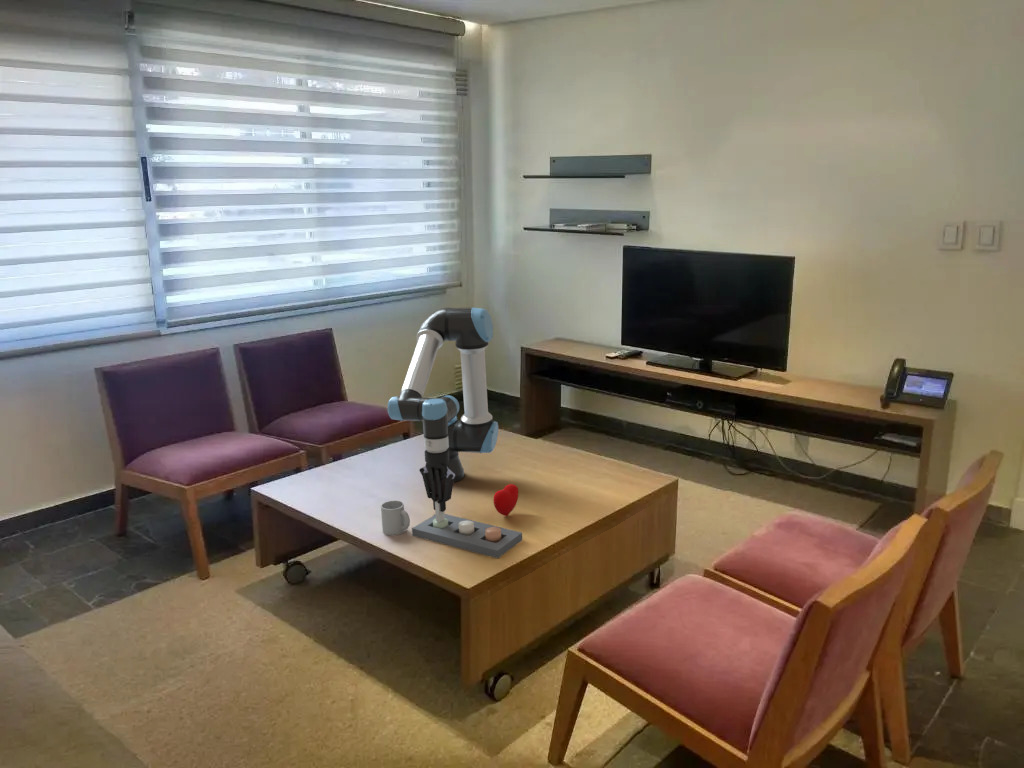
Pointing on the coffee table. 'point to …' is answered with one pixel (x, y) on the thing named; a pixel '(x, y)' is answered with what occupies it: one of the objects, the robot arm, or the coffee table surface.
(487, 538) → the peach button
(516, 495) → the heart
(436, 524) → the sage button
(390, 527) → the cup
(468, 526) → the cream button
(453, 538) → the panel
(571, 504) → the coffee table surface
